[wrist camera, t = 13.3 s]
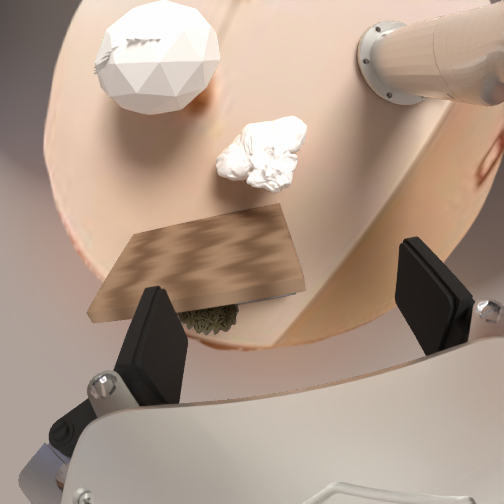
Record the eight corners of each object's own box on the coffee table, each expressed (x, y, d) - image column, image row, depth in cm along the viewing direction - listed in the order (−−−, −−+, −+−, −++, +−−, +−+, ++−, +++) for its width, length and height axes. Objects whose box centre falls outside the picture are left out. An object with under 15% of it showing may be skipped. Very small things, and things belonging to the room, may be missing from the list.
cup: (188, 247, 39) (178, 282, 32) (243, 257, 40) (244, 293, 33) (182, 291, 43) (173, 330, 36) (232, 300, 44) (231, 339, 37)
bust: (223, 166, 41) (249, 232, 36) (195, 135, 34) (220, 205, 30) (299, 125, 38) (339, 185, 34) (282, 86, 32) (329, 147, 27)
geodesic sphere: (106, 151, 31) (133, 129, 20) (65, 60, 25) (76, -1, 14) (201, 103, 37) (264, 74, 26) (163, 23, 31) (213, -30, 20)
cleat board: (279, 203, 42) (304, 277, 26) (291, 276, 48) (313, 365, 32) (133, 234, 43) (86, 312, 27) (161, 299, 49) (135, 385, 33)
